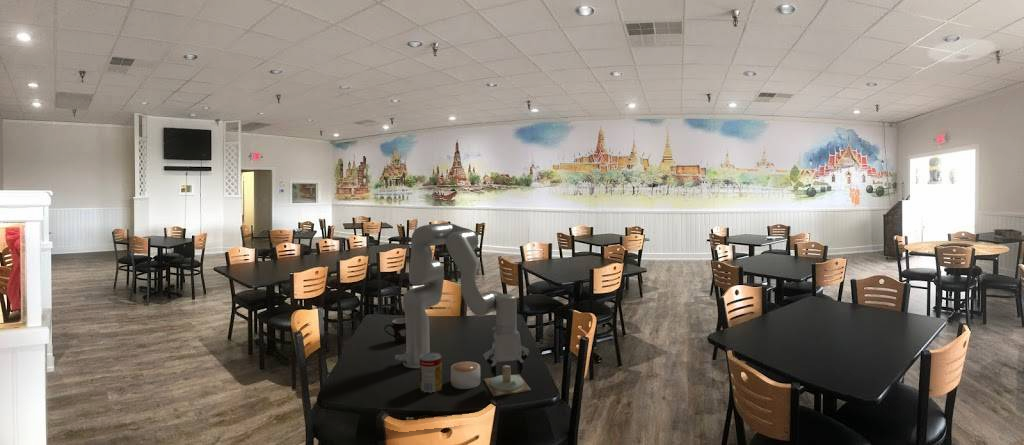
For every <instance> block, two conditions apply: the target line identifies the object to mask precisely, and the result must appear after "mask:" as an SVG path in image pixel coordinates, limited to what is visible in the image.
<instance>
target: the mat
mask: <svg viewBox="0 0 1024 445" xmlns="http://www.w3.org/2000/svg"><path fill="white" fill-rule="evenodd" d="M513 375H514V376H518V377H520V378H521V379H522V380H523V386H522V387H521V388H519V389H517V390H512V391H500V390H496V389H494V388H492V387H491V385H490V381H491V379H492V378H493V377H487V378H484V379H483V381H484V383H485V384H486V386H487V389H488V390H489V391H490V393H491V395H492V396H493V397H495V396H496V397H497V396H503V395H504V396H505V395H511V394H518V393H519V394H520V393H525V392H531V391H532V389H531V387H530V386H529V385H528V384H527V383H526V380H525V379H524V378H523V377H522V375H521V374H520V373H518V374H517V373H516V374H513Z"/></svg>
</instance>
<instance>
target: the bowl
mask: <svg viewBox="0 0 1024 445" xmlns="http://www.w3.org/2000/svg"><path fill="white" fill-rule="evenodd" d="M480 384H481V364H479V363H477V362H475V361H459V362H456V363H454V364H452V365H451V366H450V385H451V387H453V388H456V389H460V390H469V389H474V388H476V387H478V386H480Z"/></svg>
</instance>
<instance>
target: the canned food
mask: <svg viewBox="0 0 1024 445" xmlns="http://www.w3.org/2000/svg"><path fill="white" fill-rule="evenodd" d="M442 364H443V362H442V354H441V353H439V352H430V353H425V354H422V355H421V356H420V368H419V386H420V387H419V390H420V389H421V390H422V391H424V392H423V393H425V392H429V393H428V394H433V393H432V392H434V393H437V391H438V392H439V391H441V390H442V389H443V369H442V368H443V367H442V366H443V365H442ZM421 390H420V391H421ZM422 391H421V392H422Z"/></svg>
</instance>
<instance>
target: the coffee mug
mask: <svg viewBox="0 0 1024 445" xmlns="http://www.w3.org/2000/svg"><path fill="white" fill-rule="evenodd" d="M391 322H392V324H387V325H385V326H384V329H383V330H384V331H385V333H386V334H387V335H389V336H392V337H393V338H394V342H395V344H397V343H399V345H403V343H404V344H406V319H405V318H404V317H402V318H400V317H399V318H395V319H393V320H392V321H391ZM387 327H391V328H392V329H393V334H392V333H390V332H388V331H387V330H386V329H387Z"/></svg>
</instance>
